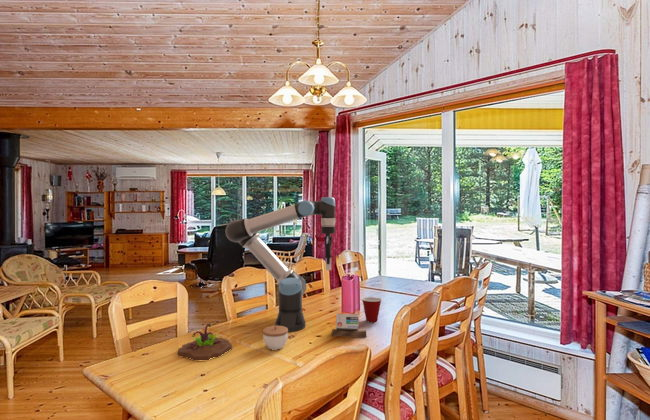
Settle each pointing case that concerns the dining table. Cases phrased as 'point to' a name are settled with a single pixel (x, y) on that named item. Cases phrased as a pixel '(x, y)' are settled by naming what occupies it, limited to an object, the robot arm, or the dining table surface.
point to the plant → (205, 346)
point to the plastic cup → (371, 308)
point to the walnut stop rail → (349, 333)
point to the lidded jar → (275, 337)
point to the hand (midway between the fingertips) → (328, 269)
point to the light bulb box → (347, 321)
